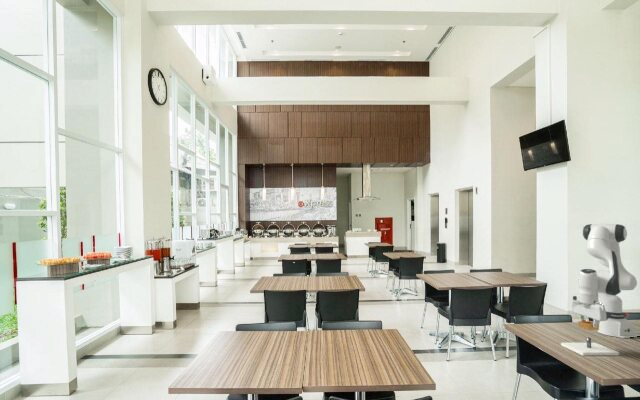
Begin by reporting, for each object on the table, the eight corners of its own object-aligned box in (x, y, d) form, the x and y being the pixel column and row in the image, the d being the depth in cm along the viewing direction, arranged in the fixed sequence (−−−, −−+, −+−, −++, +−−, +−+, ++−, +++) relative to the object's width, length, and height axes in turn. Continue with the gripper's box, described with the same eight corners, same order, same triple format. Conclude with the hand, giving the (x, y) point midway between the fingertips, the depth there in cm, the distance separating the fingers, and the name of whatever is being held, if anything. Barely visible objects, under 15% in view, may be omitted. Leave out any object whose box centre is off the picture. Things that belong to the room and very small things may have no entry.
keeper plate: (594, 345, 216) (594, 333, 217) (618, 355, 200) (618, 342, 201) (561, 345, 215) (561, 333, 215) (582, 355, 199) (582, 342, 199)
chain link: (589, 326, 211) (589, 321, 212) (598, 330, 205) (598, 324, 205) (578, 326, 211) (578, 321, 211) (587, 329, 205) (587, 324, 205)
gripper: (609, 303, 199) (610, 330, 198) (579, 295, 219) (580, 320, 218) (598, 303, 198) (598, 330, 198) (569, 295, 219) (569, 320, 218)
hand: (588, 325), depth 208 cm, fingers closed on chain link, 6 cm apart
